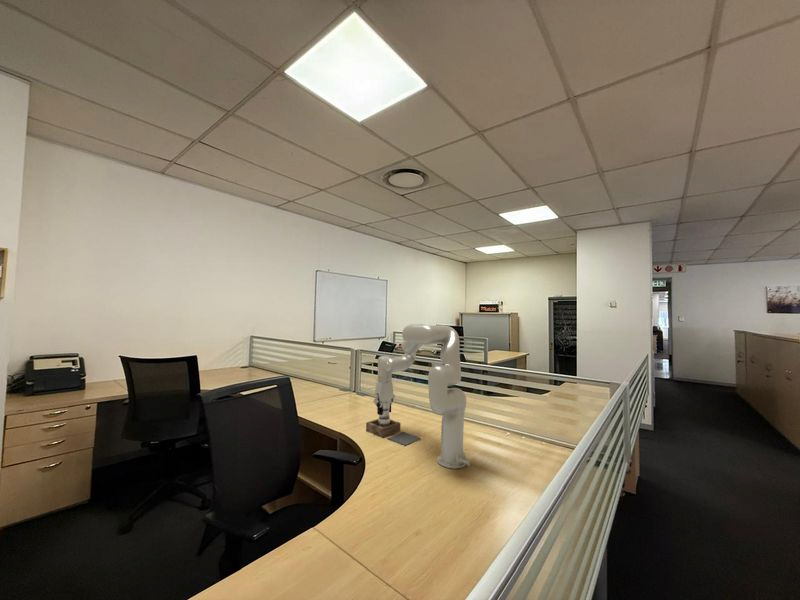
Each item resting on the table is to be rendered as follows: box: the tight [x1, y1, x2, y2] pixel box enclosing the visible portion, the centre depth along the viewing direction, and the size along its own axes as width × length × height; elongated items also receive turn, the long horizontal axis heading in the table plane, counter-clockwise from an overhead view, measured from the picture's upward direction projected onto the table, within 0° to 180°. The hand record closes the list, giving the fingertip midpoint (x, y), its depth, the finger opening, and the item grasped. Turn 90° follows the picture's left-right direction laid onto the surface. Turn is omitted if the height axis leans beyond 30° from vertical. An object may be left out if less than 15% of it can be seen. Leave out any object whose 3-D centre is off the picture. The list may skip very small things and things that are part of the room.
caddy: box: [365, 418, 401, 439], centre depth 174 cm, size 13×13×4 cm
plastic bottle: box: [377, 396, 391, 428], centre depth 174 cm, size 6×7×20 cm
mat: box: [386, 431, 422, 447], centre depth 164 cm, size 12×12×1 cm
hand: (384, 412), depth 174 cm, fingers closed on plastic bottle, 6 cm apart
